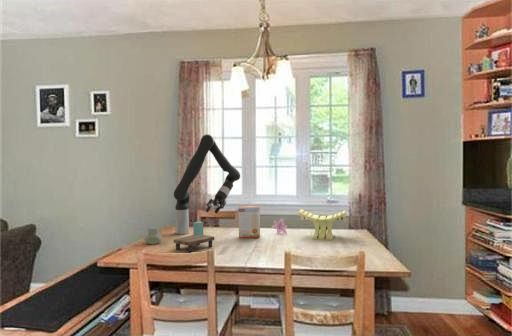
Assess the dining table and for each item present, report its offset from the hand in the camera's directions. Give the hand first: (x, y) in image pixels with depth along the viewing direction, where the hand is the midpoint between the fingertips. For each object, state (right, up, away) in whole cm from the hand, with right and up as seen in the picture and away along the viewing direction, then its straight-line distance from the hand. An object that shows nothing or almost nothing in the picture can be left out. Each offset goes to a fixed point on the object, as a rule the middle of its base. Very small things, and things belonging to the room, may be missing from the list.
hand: (211, 212), depth 273 cm
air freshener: (-35, -19, -15) cm, 42 cm away
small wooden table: (-7, -18, -30) cm, 35 cm away
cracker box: (+26, -17, 0) cm, 31 cm away
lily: (+47, -17, +13) cm, 52 cm away
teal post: (-7, -18, -8) cm, 21 cm away
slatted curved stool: (+75, -17, -2) cm, 77 cm away
